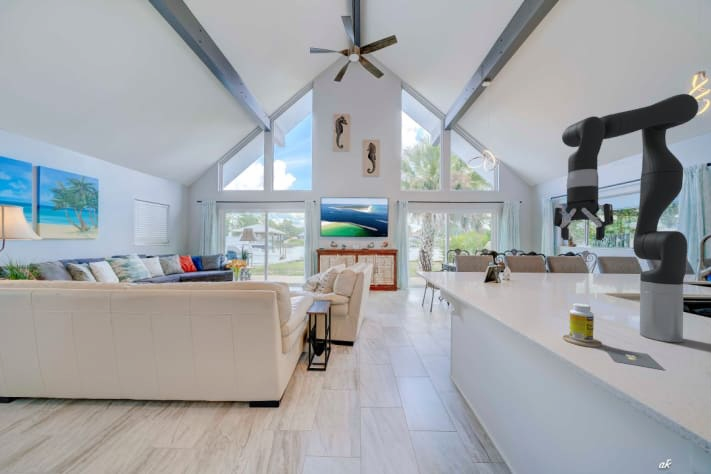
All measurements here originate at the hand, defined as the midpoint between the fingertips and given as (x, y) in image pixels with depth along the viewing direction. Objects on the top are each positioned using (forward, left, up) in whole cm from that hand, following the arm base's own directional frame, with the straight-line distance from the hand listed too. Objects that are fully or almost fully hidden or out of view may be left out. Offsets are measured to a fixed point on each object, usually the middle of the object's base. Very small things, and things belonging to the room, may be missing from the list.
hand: (581, 240), depth 87 cm
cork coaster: (+2, 0, -30) cm, 30 cm away
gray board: (+10, +9, -30) cm, 33 cm away
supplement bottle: (+2, 0, -30) cm, 30 cm away
